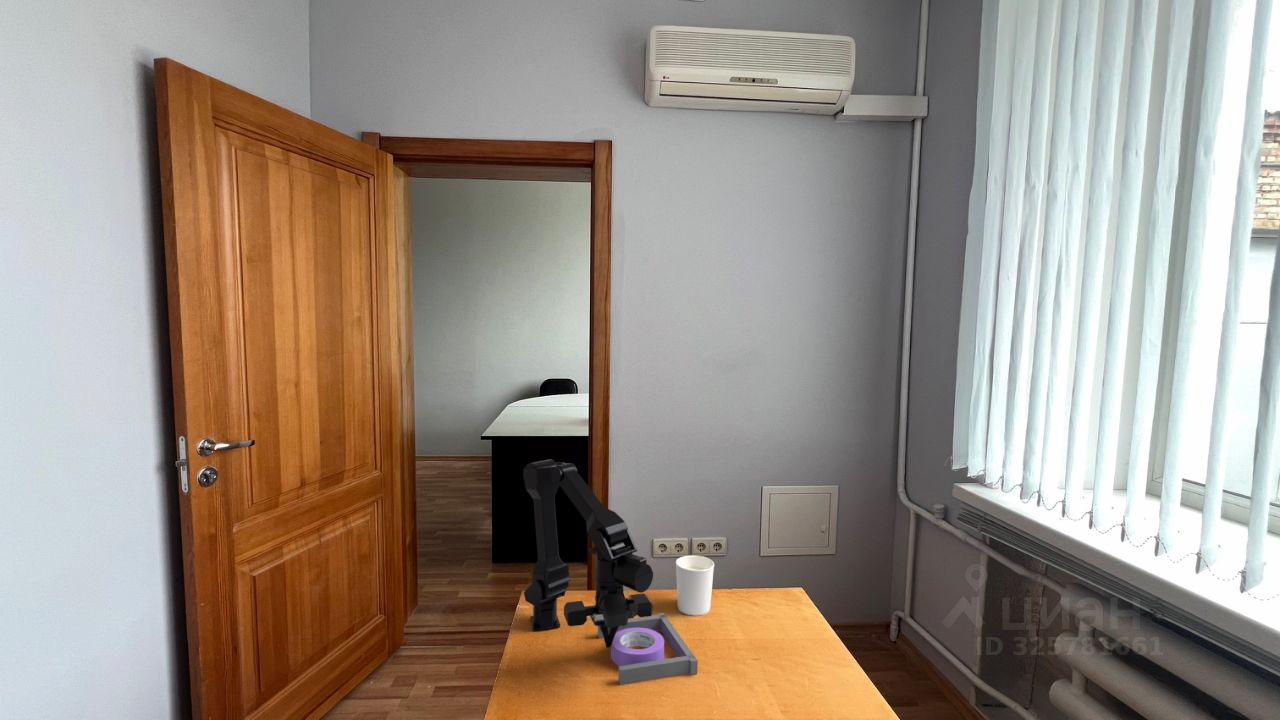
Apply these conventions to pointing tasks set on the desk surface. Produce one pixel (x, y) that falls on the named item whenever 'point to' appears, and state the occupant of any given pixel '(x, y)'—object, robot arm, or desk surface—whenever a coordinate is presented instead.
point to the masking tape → (636, 638)
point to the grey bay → (658, 668)
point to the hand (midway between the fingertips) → (607, 647)
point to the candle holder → (694, 584)
